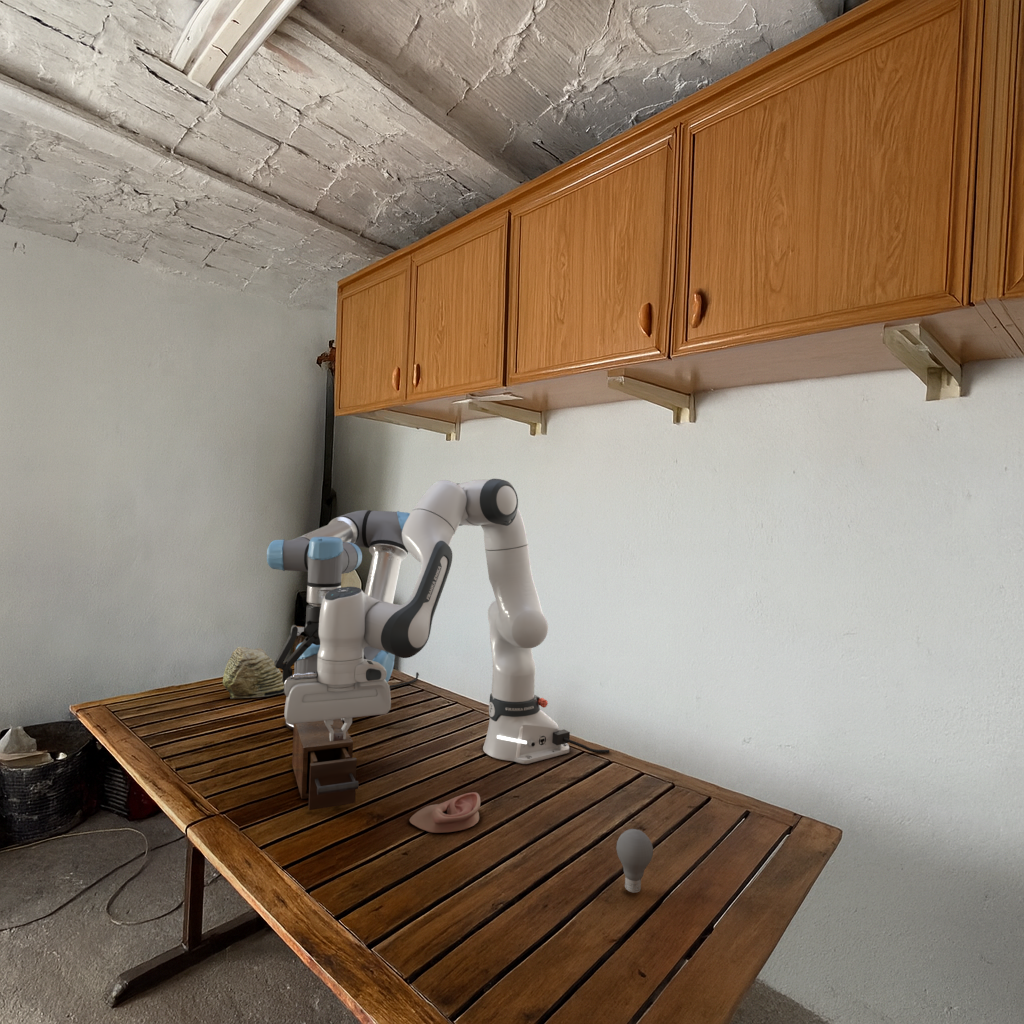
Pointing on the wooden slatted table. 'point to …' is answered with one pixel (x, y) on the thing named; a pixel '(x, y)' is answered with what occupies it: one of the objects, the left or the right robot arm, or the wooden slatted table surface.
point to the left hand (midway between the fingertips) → (320, 695)
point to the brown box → (313, 747)
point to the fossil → (252, 674)
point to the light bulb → (634, 857)
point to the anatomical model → (449, 814)
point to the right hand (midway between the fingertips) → (337, 739)
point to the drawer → (331, 778)
